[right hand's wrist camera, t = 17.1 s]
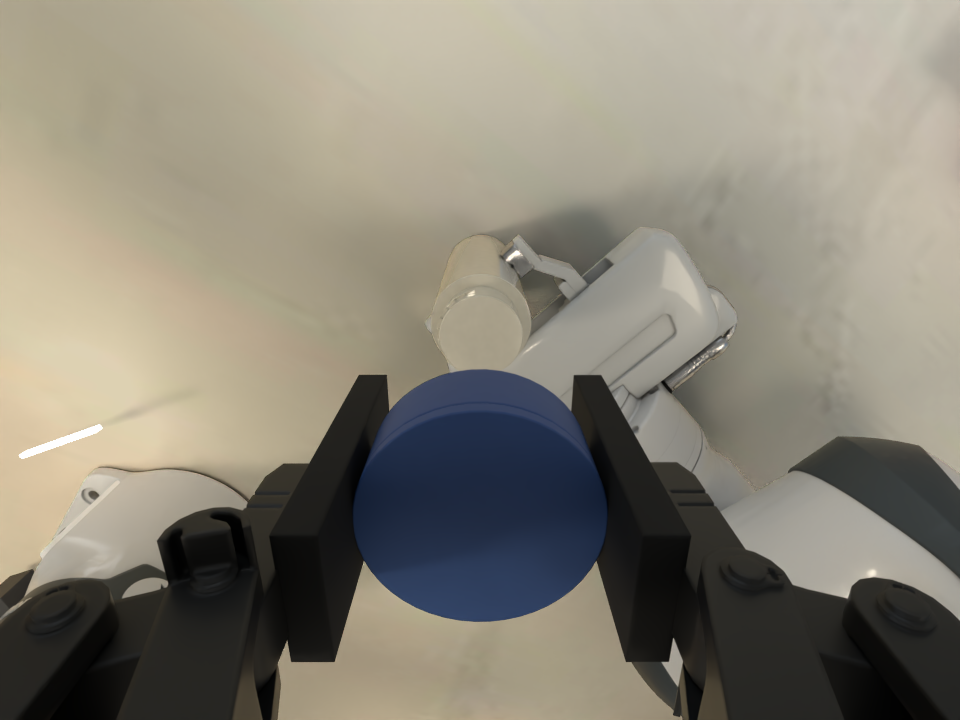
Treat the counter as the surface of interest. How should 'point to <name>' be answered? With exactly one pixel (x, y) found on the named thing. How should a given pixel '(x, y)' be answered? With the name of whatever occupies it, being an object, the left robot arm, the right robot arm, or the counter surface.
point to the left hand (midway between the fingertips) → (470, 280)
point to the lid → (480, 498)
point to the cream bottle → (480, 308)
